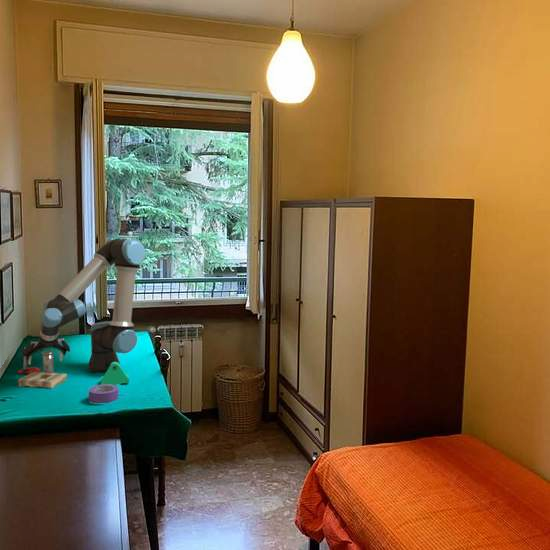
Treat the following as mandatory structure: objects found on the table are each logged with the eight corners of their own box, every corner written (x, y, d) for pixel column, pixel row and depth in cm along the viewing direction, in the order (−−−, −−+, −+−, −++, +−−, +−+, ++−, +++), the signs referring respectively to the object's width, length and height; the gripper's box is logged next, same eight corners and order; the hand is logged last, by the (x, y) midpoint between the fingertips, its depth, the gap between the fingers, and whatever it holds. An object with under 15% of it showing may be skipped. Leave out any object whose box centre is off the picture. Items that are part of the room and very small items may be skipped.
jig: (66, 380, 249) (66, 374, 249) (51, 388, 238) (51, 382, 237) (35, 378, 252) (35, 371, 252) (18, 386, 240) (18, 379, 240)
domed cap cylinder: (56, 373, 260) (56, 351, 258) (50, 376, 254) (49, 353, 253) (47, 372, 261) (46, 350, 259) (40, 375, 255) (39, 353, 254)
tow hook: (27, 369, 267) (16, 373, 258) (27, 343, 267) (15, 347, 257) (43, 370, 266) (32, 375, 257) (43, 344, 265) (32, 348, 256)
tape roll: (124, 400, 225) (123, 388, 225) (98, 407, 216) (98, 395, 216) (108, 393, 233) (108, 382, 232) (83, 400, 224) (83, 388, 224)
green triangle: (128, 380, 252) (128, 358, 251) (128, 385, 244) (128, 362, 243) (101, 381, 249) (101, 359, 248) (101, 387, 241) (100, 364, 240)
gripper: (18, 344, 230) (16, 370, 244) (80, 338, 243) (74, 363, 257) (16, 330, 234) (14, 356, 248) (77, 325, 247) (71, 350, 261)
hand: (45, 360), depth 252 cm, fingers open, 13 cm apart
